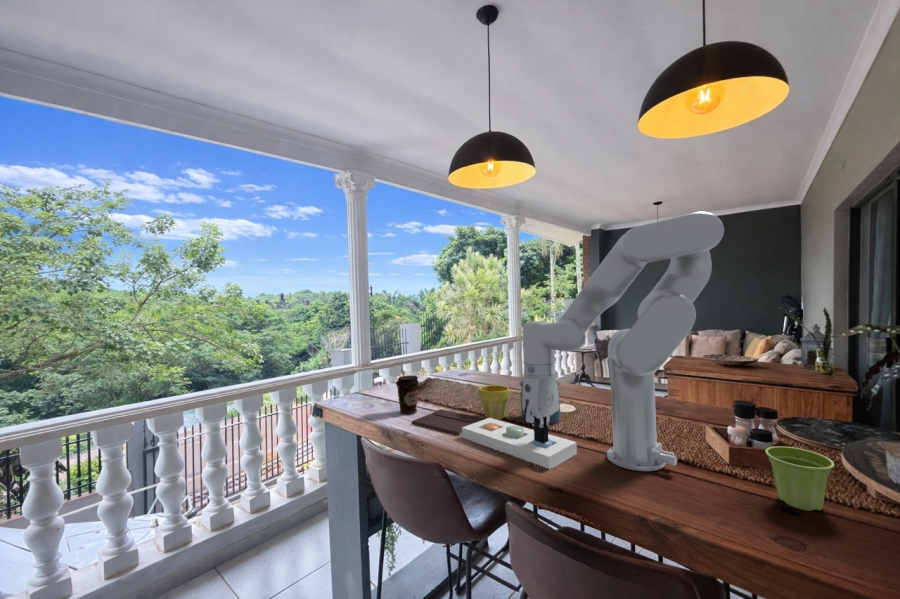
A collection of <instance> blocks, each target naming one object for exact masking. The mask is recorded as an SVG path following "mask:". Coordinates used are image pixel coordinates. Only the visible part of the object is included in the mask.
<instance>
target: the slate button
mask: <svg viewBox="0 0 900 599" xmlns="http://www.w3.org/2000/svg"><path fill="white" fill-rule="evenodd" d="M533 445H535V446H538V447H541V448H545V449H546V448H548V447H550V446H552V440H550V439H548V442H546V443H541V442H538V441H535V440H533Z"/></svg>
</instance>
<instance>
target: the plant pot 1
mask: <svg viewBox="0 0 900 599" xmlns="http://www.w3.org/2000/svg"><path fill="white" fill-rule="evenodd" d="M478 397H479V399H480V400H481V405H482V408H483V409H482V410H483V413H484V418H486V419H487V418H493V419H496V420H501V419H503V418H505V416H506V412H507V404H508V400H509V399H510V387H508V386H506V385H501V384H499V385H498V384H491V385H484V386H483V385H482V386H480V387H479V388H478Z"/></svg>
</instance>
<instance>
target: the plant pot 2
mask: <svg viewBox="0 0 900 599" xmlns="http://www.w3.org/2000/svg"><path fill="white" fill-rule="evenodd" d="M765 455H766V456H768V460H769V462H770V463H771V468H772V473H773V477H774V478H773V479H774V484H775V488H776V492H777V498H778V499H779V500H780V501H783V502H784V503H786V504H787V505H788V506H790V507H793V508H796V509H798V510H802V511H814V510H817V511H822V509H823V507H824V503H825V494H826V489H827V482H828V477H829V475H830V474H831V470H833V469H834V467H835V462H834V461H833V460H832V459H830V458H829V457H827V456H825V455H823V454H820V453H819V452H818V453H817V452H814V451H812V450H808V449H807V450H806V449H804V448H799V447H792V446H782V445H781V446H777V445H776V446H770V447H767V448H766V449H765Z"/></svg>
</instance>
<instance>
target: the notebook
mask: <svg viewBox="0 0 900 599" xmlns="http://www.w3.org/2000/svg"><path fill="white" fill-rule="evenodd" d="M485 419H487V418H486V417H482V416H476V415H472V414H466V413H462V412H461V413H460V412H457V411H453V410H452V411H451V410H446V409H441V408H439V409H437V410H435V411H434V412H431V413H429V414H426V415H423V416H421V417H419V418H416V419H414V420H412V421H411V425H413V424H414V426H417V427H421V428H424V427H425V428H426V429H428V428H429V430H432V429H433V430H432V431H436V430H437V431H436V432H441V433H444V432H445V433H444V434H448V433H449V435H452V434H453V435H454V436H456V435H457V436H456V437H459V436H461V435H462V427H465V426H468V425H471V424H473V423H476V422H479V421H482V420H485ZM460 434H461V435H460Z"/></svg>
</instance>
